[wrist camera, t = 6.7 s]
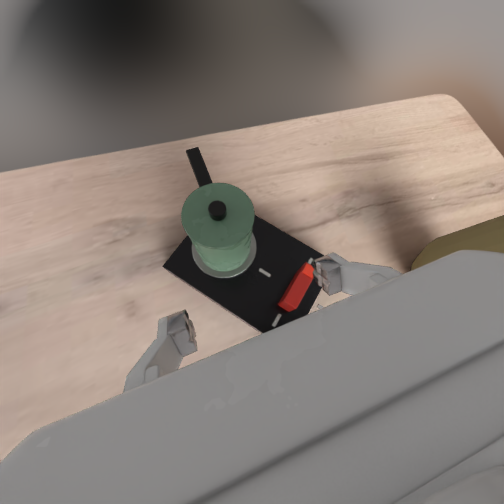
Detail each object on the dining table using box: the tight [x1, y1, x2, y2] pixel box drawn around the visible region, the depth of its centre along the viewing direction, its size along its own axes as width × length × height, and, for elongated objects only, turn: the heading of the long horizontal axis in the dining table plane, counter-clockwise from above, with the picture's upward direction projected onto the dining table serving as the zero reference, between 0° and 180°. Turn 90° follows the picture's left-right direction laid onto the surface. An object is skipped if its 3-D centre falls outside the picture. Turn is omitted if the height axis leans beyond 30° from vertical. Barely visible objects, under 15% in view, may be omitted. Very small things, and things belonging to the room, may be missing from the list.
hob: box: [163, 215, 324, 334], centre depth 27 cm, size 18×11×3 cm, turn 58°
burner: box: [192, 233, 257, 279], centre depth 26 cm, size 7×7×1 cm
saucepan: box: [181, 147, 255, 271], centre depth 23 cm, size 9×8×8 cm
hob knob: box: [278, 262, 314, 312], centre depth 24 cm, size 4×1×4 cm, turn 148°
